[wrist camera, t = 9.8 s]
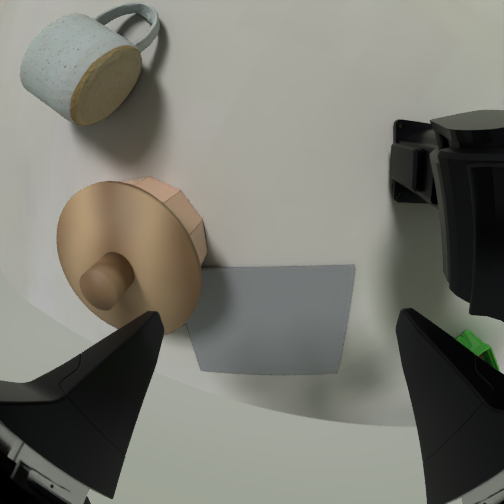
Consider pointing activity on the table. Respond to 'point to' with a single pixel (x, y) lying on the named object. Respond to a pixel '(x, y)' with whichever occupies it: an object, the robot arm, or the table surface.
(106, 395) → the robot arm
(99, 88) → the ceramic mug
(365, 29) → the table surface
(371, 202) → the table surface
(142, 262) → the lid
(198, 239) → the bowl
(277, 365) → the mat
